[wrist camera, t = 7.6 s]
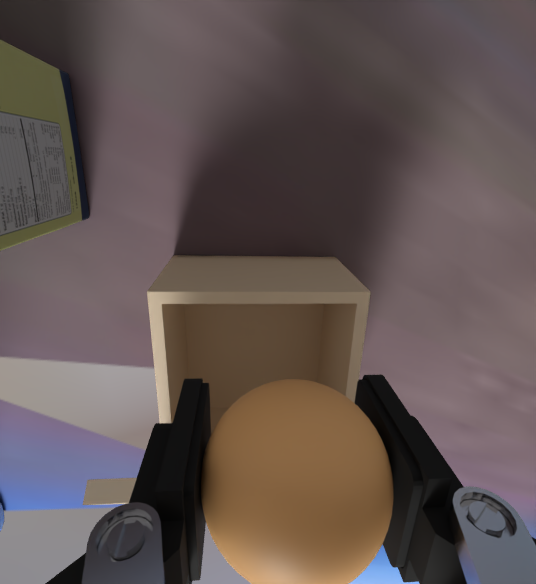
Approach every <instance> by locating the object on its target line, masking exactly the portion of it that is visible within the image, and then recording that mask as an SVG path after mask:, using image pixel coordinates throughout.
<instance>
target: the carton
mask: <svg viewBox="0 0 536 584" xmlns="http://www.w3.org/2000/svg"><path fill="white" fill-rule="evenodd" d="M370 294H371V292H370V291H369V290H368V289H367V288H366V287H365V286H364V285H363V284H362V283H361V282H360V281H359V280H358V279H357V278H356V277H355V276H354V275H353V274H352V273H351V272H350V271H349V270H348V269H347V268H346V267H345V266H344V265H343V264H342V263H341V262H340V261H339V260H338V259H337V258H336V257H304V256H196V255H173V257H172V258H171V260H170V261H169V262H168V264H167V265H166V266H165V268H164V269H163V271H162V272H161V273H160V275H159V276H158V277H157V279H156V280H155V282H154V283H153V284H152V286H151V287H150V289H149V290H148V291H147V295H148V305H149V316H150V326H151V336H152V347H153V357H154V367H155V377H156V388H157V398H158V409H159V419H160V423H173V420H174V416H175V412H176V408H177V404H178V401H179V397H180V393H181V389H182V385H183V381H184V379H194V378H202V379H203V383H209V389H210V417H211V434H212V432H213V430H214V428H215V426H216V425H217V423H218V422H219V420H220V419H221V417H222V416H223V414H224V413H225V412H226V411H227V410H228V409H229V408H230V406H231V405H232V404H233V403H235V402H236V401H237V400H238V399H239V398H240V397H242V396H243V395H245V394H246V393H248V392H249V391H251V390H253V389H254V388H257V387H259V386H261V385H264V384H266V383H270V382H274V381H278V380H285V379H300V380H309V381H314V382H317V383H320V384H323V385H326V386H328V387H330V388H333V389H335V390H337V391H338V392H340V393H341V394H343V395H344V396H346V397H347V398H349V399H350V400H351V401H352V402H354V403H355V396H356V388H357V382H358V380H359V373H360V366H361V359H362V352H363V344H364V337H365V330H366V323H367V315H368V308H369V301H370Z"/></svg>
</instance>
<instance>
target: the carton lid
mask: <svg viewBox="0 0 536 584" xmlns="http://www.w3.org/2000/svg"><path fill="white" fill-rule="evenodd" d="M136 479H137V478H119V479H95V480H88V481H87V486H86V491H85V496H84V501H83V505H99V504H127V503H129V501H130V497H131V494H132V491H133V488H134V485H135V482H136ZM201 500H202V508H203V512H204V516H205V520H206V523H207V526H208V529H209V531H210V534H211V536H212V538H213V540H214V542H215V544H216V546H217V548H218V549H219V551H220V552H221V554H222V555H223V556H224V558H225V559H226V561H227V562H228V563H229V564H230V565H231V566H232V567H233V568H234V569H235V570H236V571H237V572H238V573H239V574H240V575H241V576H243V577H244V578H245V579H246V580H247V581H249V582H250V583H251V584H348V583H350V582H351V581H353V580H354V579H356V578H357V577H358V576H359V575H360V574H361V573H362V572H363V571H364V570H365V569H366V568H367V567H368V565H369V564H370V563H371V561H372V560H373V559H374V558H375V556H376V554H377V553H378V551H379V549H380V547H381V546H382V544H383V541H384V539H385V536H386V534H387V531H388V528H389V524H390V520H391V516H392V509H393V500H394V490H393V477H392V470H391V465H390V461H389V458H388V454H387V451H386V449H385V446H384V444H383V441H382V439H381V437H380V435H379V434H378V432H377V430H376V428H375V427H374V425H373V424H372V422H371V421H370V420H369V418H368V417H367V416H366V415H365V414H364V412H363V411H362V410H361V409H360V408H359V407H358V406H357V405H356V404H355V403H354V402H352V401H351V400H350V399H349V398H347V397H346V396H344V395H343V394H341V393H340V392H338V391H337V390H335V389H333V388H330V387H328V386H326V385H323V384H320V383H317V382H314V381H309V380H300V379H285V380H278V381H274V382H270V383H266V384H264V385H261V386H259V387H257V388H254V389H253V390H251V391H249V392H248V393H246V394H245V395H243V396H242V397H240V398H239V399H238V400H237V401H236V402H235V403H233V404H232V405H231V406H230V408H229V409H228V410H227V411H226V412H225V413H224V414H223V416H222V417H221V419H220V420H219V422H218V423H217V425H216V426H215V428H214V430H213V432H212V434H211V436H210V438H209V441H208V444H207V447H206V449H205V453H204V457H203V462H202V469H201Z"/></svg>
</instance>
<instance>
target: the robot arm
mask: <svg viewBox="0 0 536 584" xmlns="http://www.w3.org/2000/svg"><path fill="white" fill-rule="evenodd" d="M355 404H356V405H357V406H358V407H359V408H360V409H361V410H362V411H363V412H364V414H365V415H366V416H367V417H368V418H369V420H370V421H371V422H372V424H373V425H374V427H375V428H376V430H377V432H378V434H379V435H380V437H381V439H382V441H383V444H384V446H385V449H386V451H387V454H388V458H389V461H390V465H391V470H392V477H393V490H394V500H393V509H392V516H391V520H390V524H389V528H388V531H387V534H386V536H385V539H384V541H383V545H384V548H385V551H386V553H387V556H388V559H389V561H390V564H391V565H392V566H393V567H398V569H399V572H400V574H401V577H402V579H403V582H416V581H419V583H420V584H536V539H534V538H533V537H531V535H530V534H529V532H528V530H527V528H526V526H525V524H524V522H523V520H522V519H521V517H520V516H519V514H518V513H517V512H516V510H515V509H514V508H513V507H512V506H511V505H510V504H509V503H508V502H506V501H505V500H504V499H502V498H501V497H499V496H498V495H496V494H494V493H492V492H490V491H488V490H485V489H482V488H478V487H463V485H462V484H461V482H460V481H459V480H458V478H457V477H456V475H455V474H454V472H453V471H452V469H451V468H450V466H449V465H448V464H447V462H446V461H445V459H444V458H443V456H442V455H441V453H440V452H439V451H438V449H437V448H436V446H435V445H434V443H433V442H432V440H431V439H430V438H429V436H428V435H427V433H426V432H425V430H424V429H423V427H422V426H421V424H420V423H419V422H418V420H417V419H416V418H415V417H413V416H410V414H409V413H408V411H407V410H406V408H405V407H404V405H403V404H402V402H401V401H400V399H399V398H398V396H397V395H396V393H395V392H394V391H393V389H392V388H391V386H390V385H389V383H388V382H387V380H386V379H385V377H384V376H383V375H364V377H363V379H362V380H358V382H357V388H356V396H355ZM210 436H211V417H210V389H209V383H203V379H202V378H194V379H184V381H183V385H182V389H181V393H180V397H179V401H178V404H177V408H176V412H175V416H174V420H173V423H158V424H157V423H156V424H155V426H154V428H153V430H152V433H151V437H150V439H149V443H148V445H147V449H146V452H145V455H144V458H143V461H142V464H141V467H140V470H139V473H138V476H137V479H136V482H135V485H134V488H133V491H132V494H131V497H130V501H129V503H127V504H124V505H121V506H119V507H116V508H115V509H113V510H111V511H110V512H108V513H107V514H105V515H104V516H103V517H102V518H101V520H99V522H98V523H97V524H96V525H95V527H94V529H93V530H92V532H91V534H90V537H89V540H88V543H87V550H86V553H85V554H84V555H83V556H81V557H80V558H79V559H77V560H76V561H75V562H73V563H72V564H71V565H69V566H68V567H67V568H66V569H64V570H63V571H61V572H60V573H59V574H57V575H56V576H55V577H54V578H52V579H51V580H50V581H49V582H47V583H46V584H192V581H193V580H194V581H195V580H200V576H201V566H202V555H203V543H204V534H205V523H206V520H205V516H204V512H203V508H202V500H201V469H202V462H203V457H204V453H205V449H206V447H207V444H208V441H209V438H210ZM3 523H4V511H3V508H2V505H1V503H0V531H1V529H2V527H3Z"/></svg>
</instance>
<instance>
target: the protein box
mask: <svg viewBox="0 0 536 584" xmlns="http://www.w3.org/2000/svg"><path fill="white" fill-rule="evenodd" d="M88 218H89V210H88V202H87V196H86V188H85V181H84V174H83V167H82V160H81V154H80V147H79V140H78V133H77V126H76V119H75V113H74V107H73V100H72V93H71V86H70V80H69V74H68V73H66V72H63V71H61V70H59V69H57V68H55V67H53V66H51V65H49V64H47V63H45V62H43V61H42V60H40V59H38V58H36V57H34V56H32V55H30V54H28V53H26V52H24V51H22V50H20V49H18V48H16V47H14V46H12V45H10V44H8V43H6V42H4V41H2V40H0V251H1V250H4V249H6V248H9V247H12V246H14V245H17V244H20V243H22V242H25V241H28V240H31V239H33V238H36V237H39V236H42V235H45V234H48V233H50V232H53V231H56V230H59V229H61V228H64V227H67V226H69V225H72V224H74V223H77V222H80V221H82V220H85V219H88Z"/></svg>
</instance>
